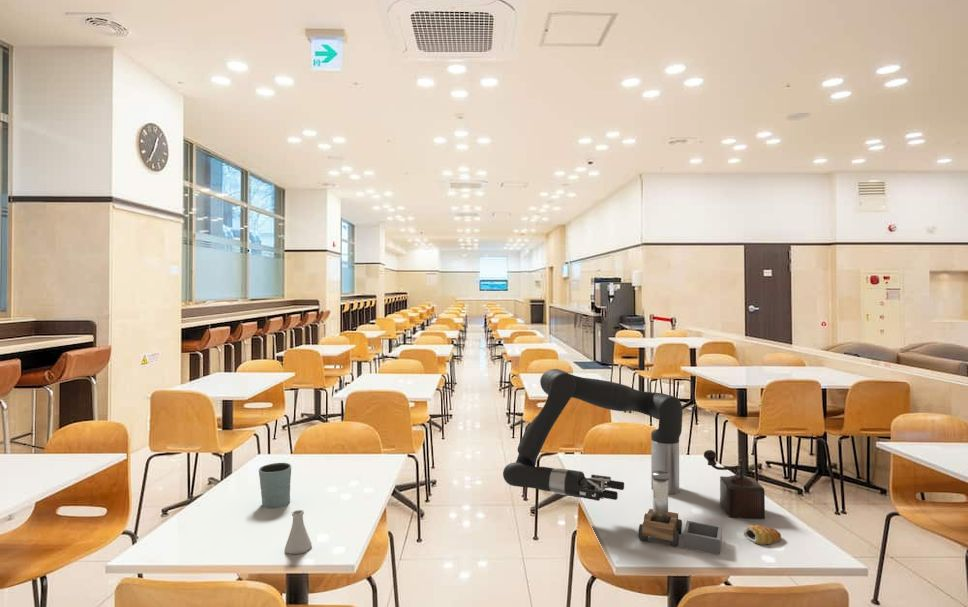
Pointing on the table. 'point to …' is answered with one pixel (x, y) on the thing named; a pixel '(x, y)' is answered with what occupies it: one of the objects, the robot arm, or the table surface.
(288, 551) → the flask
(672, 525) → the trolley
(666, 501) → the pin
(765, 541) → the pastry
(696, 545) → the tray
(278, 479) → the grey cup
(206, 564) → the table surface
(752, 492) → the manual coffee grinder
